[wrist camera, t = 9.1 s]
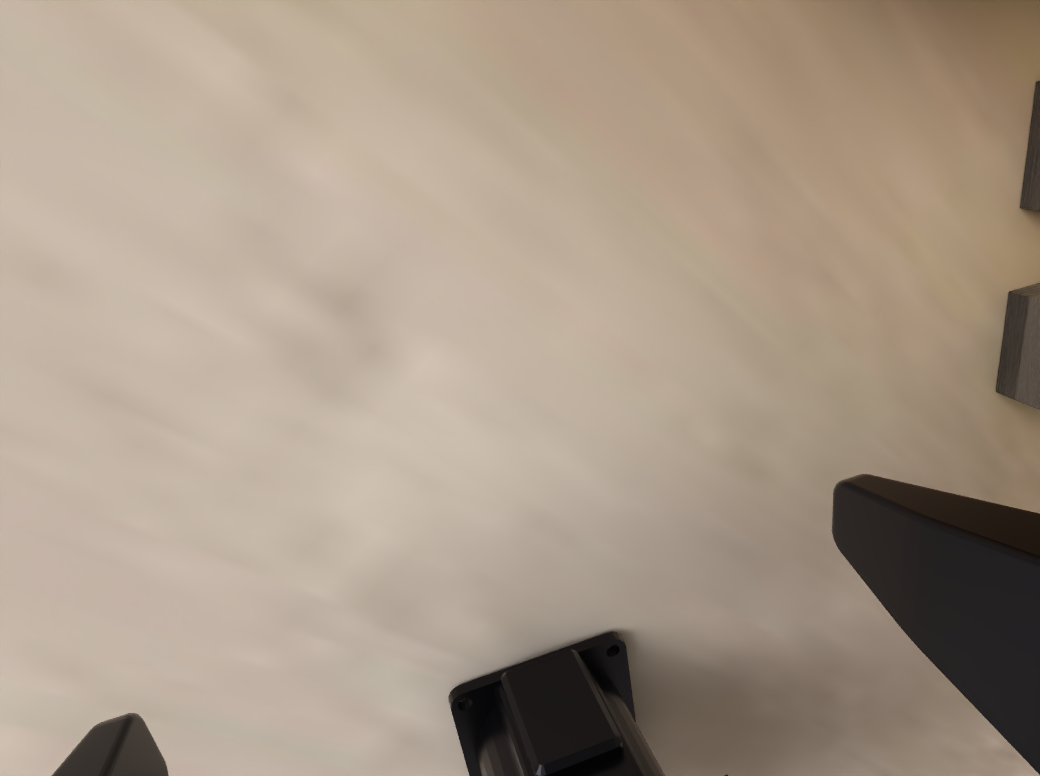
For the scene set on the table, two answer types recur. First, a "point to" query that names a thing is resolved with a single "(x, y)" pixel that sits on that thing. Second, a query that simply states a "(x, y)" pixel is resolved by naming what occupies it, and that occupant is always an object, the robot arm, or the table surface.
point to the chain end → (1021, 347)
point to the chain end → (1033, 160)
